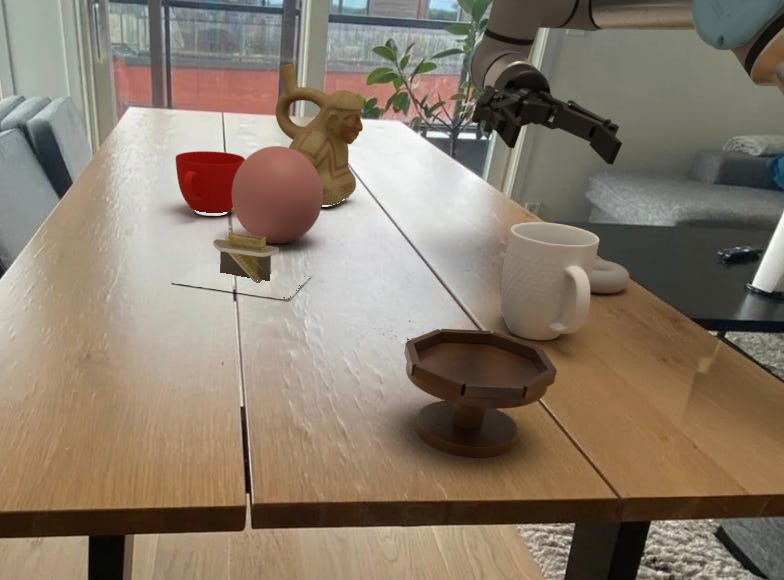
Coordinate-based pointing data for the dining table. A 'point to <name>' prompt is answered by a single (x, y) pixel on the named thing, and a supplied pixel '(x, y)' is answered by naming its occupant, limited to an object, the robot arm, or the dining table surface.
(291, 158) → the pink ball
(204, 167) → the ceramic cup
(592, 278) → the donut
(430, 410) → the cake stand
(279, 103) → the ceramic vessel
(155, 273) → the dining table surface
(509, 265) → the mug
